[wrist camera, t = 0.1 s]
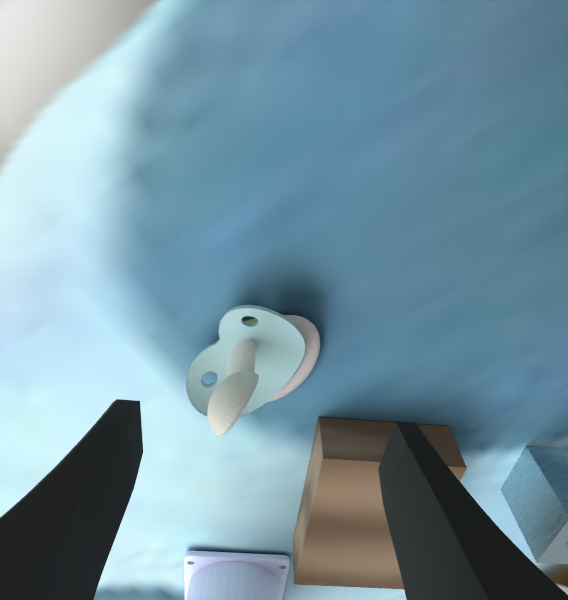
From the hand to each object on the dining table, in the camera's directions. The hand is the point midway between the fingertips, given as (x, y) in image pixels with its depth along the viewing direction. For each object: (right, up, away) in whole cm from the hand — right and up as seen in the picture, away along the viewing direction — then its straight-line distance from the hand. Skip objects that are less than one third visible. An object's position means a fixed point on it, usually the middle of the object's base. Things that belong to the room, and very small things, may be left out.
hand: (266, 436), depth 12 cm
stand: (+6, -9, +17) cm, 20 cm away
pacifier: (-1, +1, +11) cm, 11 cm away
